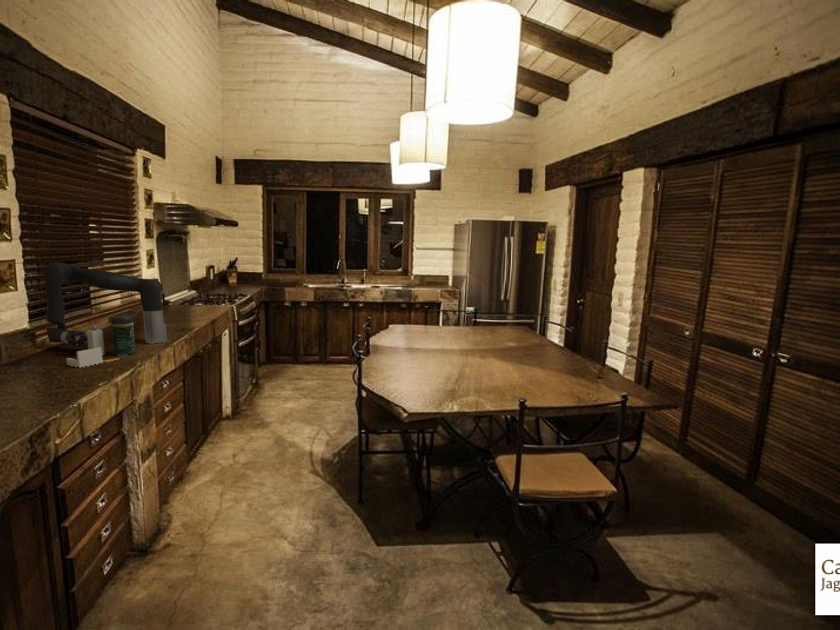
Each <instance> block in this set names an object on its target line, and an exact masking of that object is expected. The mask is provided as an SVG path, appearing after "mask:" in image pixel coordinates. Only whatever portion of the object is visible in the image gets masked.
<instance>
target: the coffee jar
mask: <svg viewBox="0 0 840 630" xmlns="http://www.w3.org/2000/svg"><path fill="white" fill-rule="evenodd" d="M134 321H135V320H134V317H133V315H131V314H121V315H119V316H115V317H113V318H112V319H111V327H112V332H113V353H114V355H115V356H117V354H122V353H126V354H128V356H130V355H133V354H134V353H136V351H137V349H136V341H135V329H134V328H135V327H134V326H135V325H134Z"/></svg>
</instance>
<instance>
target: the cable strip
mask: <svg viewBox="0 0 840 630" xmlns="http://www.w3.org/2000/svg"><path fill="white" fill-rule="evenodd" d="M114 360H115V361H119V360H122V359H121V358H118V357H116V358H111V359H103V363H110V362H114Z"/></svg>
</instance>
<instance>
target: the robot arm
mask: <svg viewBox="0 0 840 630" xmlns="http://www.w3.org/2000/svg"><path fill="white" fill-rule="evenodd" d="M43 277H44V282H45V288H46V289H45V290H46V303H47V304H46V322H48V323H51V324H56V327H46V328H47V329H46V328H45V329H46V330H47V335H48V337H49V341H50V342H49V343H61V344H65V345H68V346H74V347H81V346H85V344H88V339H87V333H86V332H84V331H83V330H77V329H68V327H67V324H66V322H65V313H66V312H65V310H66V309H65V308H66V307H65V302H64V299H63V293H62V288H63V287H62V285H63V282H64V281H66V282H67V281H68V282H75V283H76V282H77V283H82V284H84V285H87V286H91V287H92V288H93V287H94V288H96V289H97V288H98V289H102V290H107V291H120V292H121V291H122V292H123V291H124V292H125V291H127V292H136V293H139V295H140V305H141V308H142V312H143V313H142V315H143V326H144V327H143V328H144V339H145V344H147V343H149V344H150V345H155V343H157V344H163V343H165V342H167V341H168V337H167V336H168V335H167V323H165V321H164V320H165V317H164V305H163V303H162V299H161V298H162V297H161V294H162V293H163V291H164V286H163V284H162V282H160V281H159V280H157V279H153V278H140V277H133V276H130V275H125V274H121V273H119V272H113V271H108V270H102V269H101V270H100V269H94V268H85V267H80V266H75V265H72V264H68V263H65V262H59V261H57V262H50V263H48V264H46V265H45V267H44V268H43ZM103 341H105V337H104V336H103ZM162 342H163V343H162ZM149 344H148V345H149Z"/></svg>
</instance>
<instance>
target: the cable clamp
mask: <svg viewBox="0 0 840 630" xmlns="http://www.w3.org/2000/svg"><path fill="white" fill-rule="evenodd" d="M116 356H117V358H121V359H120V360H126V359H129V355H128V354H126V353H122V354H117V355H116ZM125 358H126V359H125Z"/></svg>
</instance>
